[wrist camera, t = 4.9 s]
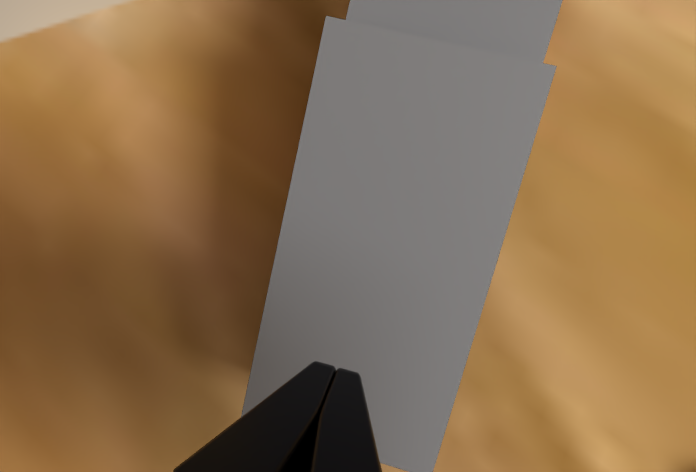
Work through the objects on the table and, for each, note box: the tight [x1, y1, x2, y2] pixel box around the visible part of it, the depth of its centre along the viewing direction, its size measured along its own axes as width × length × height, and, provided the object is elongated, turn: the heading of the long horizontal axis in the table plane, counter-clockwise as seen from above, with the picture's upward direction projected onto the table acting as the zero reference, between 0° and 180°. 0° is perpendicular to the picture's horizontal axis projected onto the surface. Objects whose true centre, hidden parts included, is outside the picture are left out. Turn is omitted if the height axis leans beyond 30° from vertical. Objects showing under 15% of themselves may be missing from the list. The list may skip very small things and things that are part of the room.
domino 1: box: [346, 0, 562, 63], centre depth 14 cm, size 2×5×10 cm
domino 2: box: [241, 16, 557, 472], centre depth 13 cm, size 2×5×10 cm
